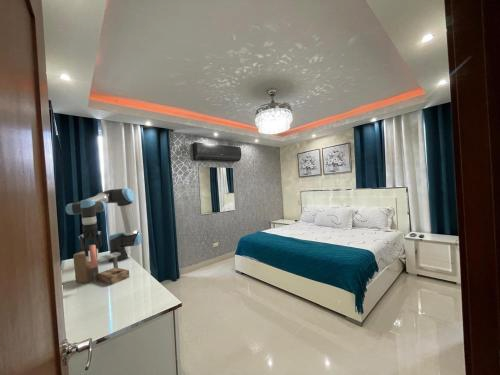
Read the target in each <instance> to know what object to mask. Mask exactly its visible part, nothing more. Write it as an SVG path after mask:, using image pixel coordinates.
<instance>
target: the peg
mask: <svg viewBox="0 0 500 375" xmlns="http://www.w3.org/2000/svg"><path fill="white" fill-rule="evenodd" d="M88 251H90V259H91V261H89V264H90V268H95V267H97V256H96V245H95V244H94V243H93V244H89V249H88Z"/></svg>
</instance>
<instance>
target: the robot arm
mask: <svg viewBox="0 0 500 375" xmlns="http://www.w3.org/2000/svg"><path fill="white" fill-rule="evenodd" d="M134 200H135V193H134V191H133V190H132V189H131V188H126V187H125V188H115V189H108V190H105V191H102V192H98V193H97V194H96V195H95V196H91V197H88V198H86V199H82V200H80V201H77V202H71V203H68V204H66V206H65V213H66V214H67V215H81V224H82V234H80V235H78V236H77V238H78V240H79V248H80V252H82V251H85V256H86V257H87V261H91V259H90V251H88V249H89V245H90V241H91V239H92V241H93V244H95V245H96V256H97V259H99V257H100V256H99V253H101V252H100V248H101V247H103V233H104V231H101V230H100V231H99V230H98V223H97V222H98V220H97V213H101V212H104V211H105V210H106V209H107V204H117V206H118V207H119V210H120V213H121V218H122V222H123V228H124V231H125V232H124V231H123V232H116V233H114V234H111V235H109V236H108V243H109V254H111V253H114V252H117V253H121V255H119V256H117V261H118V262H120V261H123V260H126V259H128V258H129V256H128V253H127V250H126V248H127V247H136V246H139V245H141V243H142V241H143V233H142V232H139V229H138V228H137V227H136V222H135V218H134V214H133V213H134V212H133V208H132V204H133V202H134ZM84 239H85V241H84ZM107 260H108V262H110V263H113V258H110V259H107Z"/></svg>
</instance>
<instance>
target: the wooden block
mask: <svg viewBox="0 0 500 375" xmlns="http://www.w3.org/2000/svg"><path fill="white" fill-rule="evenodd" d="M98 263H99V262H98ZM98 263H97V273H100V272H99V264H98ZM73 265H74V266H73V268H74V278H75V279H74V280H75V282H76V283H81V284H82V283H84V284H85V283H89V282H91V281H93V270H92V268H90V264H89V261H87V257H86V256H85V251H80V252H77V253H74V254H73Z"/></svg>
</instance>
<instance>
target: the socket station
mask: <svg viewBox="0 0 500 375" xmlns="http://www.w3.org/2000/svg"><path fill="white" fill-rule="evenodd" d="M119 255H121V253H117V252H114V253H111V254H110V253H107V254H105V255H101V256H99V259H97V263H100V262H104V261H107V260H108V259H110V258H113V262H112V264H113V267H112V268H109V269H106V270H104V271H101V272H99V273H97V267H95V268H92V270H93V280H92V281H93V282H94V283H96V282H98V281H99V282H102V283H104V284H108V285H114V284H116V283H120V282H122V281H124V280H127V279H129V278H130V270H129V269H125V268H120V267H119V264H118V263H119V261H117V256H119Z"/></svg>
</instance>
